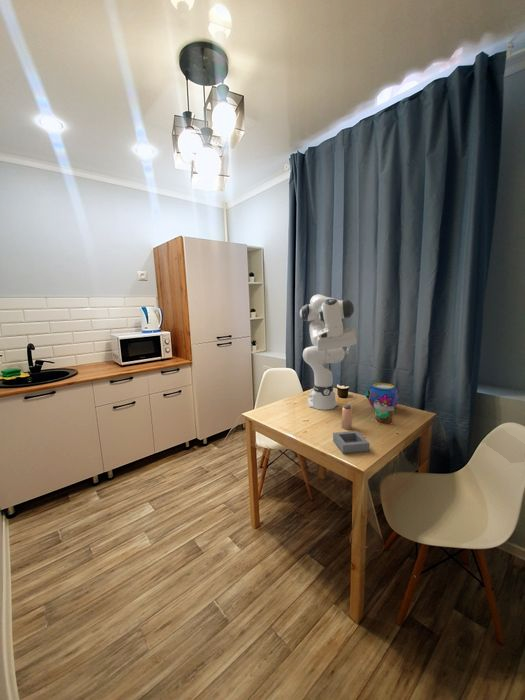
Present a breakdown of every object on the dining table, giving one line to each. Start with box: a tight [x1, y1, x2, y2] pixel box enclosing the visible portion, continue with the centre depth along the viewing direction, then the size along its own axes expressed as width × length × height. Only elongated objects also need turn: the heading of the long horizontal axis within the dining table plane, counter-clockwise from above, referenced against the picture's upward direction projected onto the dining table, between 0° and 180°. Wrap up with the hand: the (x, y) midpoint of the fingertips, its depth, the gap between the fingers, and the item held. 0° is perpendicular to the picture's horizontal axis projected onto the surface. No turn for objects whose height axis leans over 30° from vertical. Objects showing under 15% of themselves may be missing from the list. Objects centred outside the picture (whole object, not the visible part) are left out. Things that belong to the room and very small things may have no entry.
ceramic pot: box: [365, 382, 400, 409], centre depth 166 cm, size 18×18×15 cm
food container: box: [373, 400, 395, 425], centre depth 149 cm, size 12×6×10 cm, turn 19°
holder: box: [332, 430, 370, 455], centre depth 126 cm, size 12×12×4 cm
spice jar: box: [341, 404, 353, 431], centre depth 143 cm, size 5×5×12 cm
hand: (338, 355), depth 146 cm, fingers open, 8 cm apart
